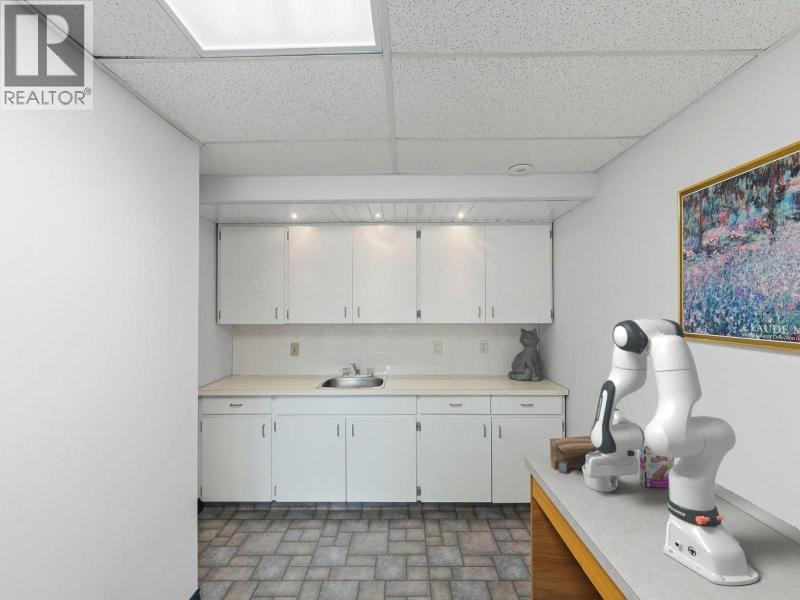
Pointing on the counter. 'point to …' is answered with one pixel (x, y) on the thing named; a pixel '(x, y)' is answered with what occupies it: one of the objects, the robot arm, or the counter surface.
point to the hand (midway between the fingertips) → (612, 486)
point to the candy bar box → (654, 468)
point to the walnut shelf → (570, 452)
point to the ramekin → (597, 482)
